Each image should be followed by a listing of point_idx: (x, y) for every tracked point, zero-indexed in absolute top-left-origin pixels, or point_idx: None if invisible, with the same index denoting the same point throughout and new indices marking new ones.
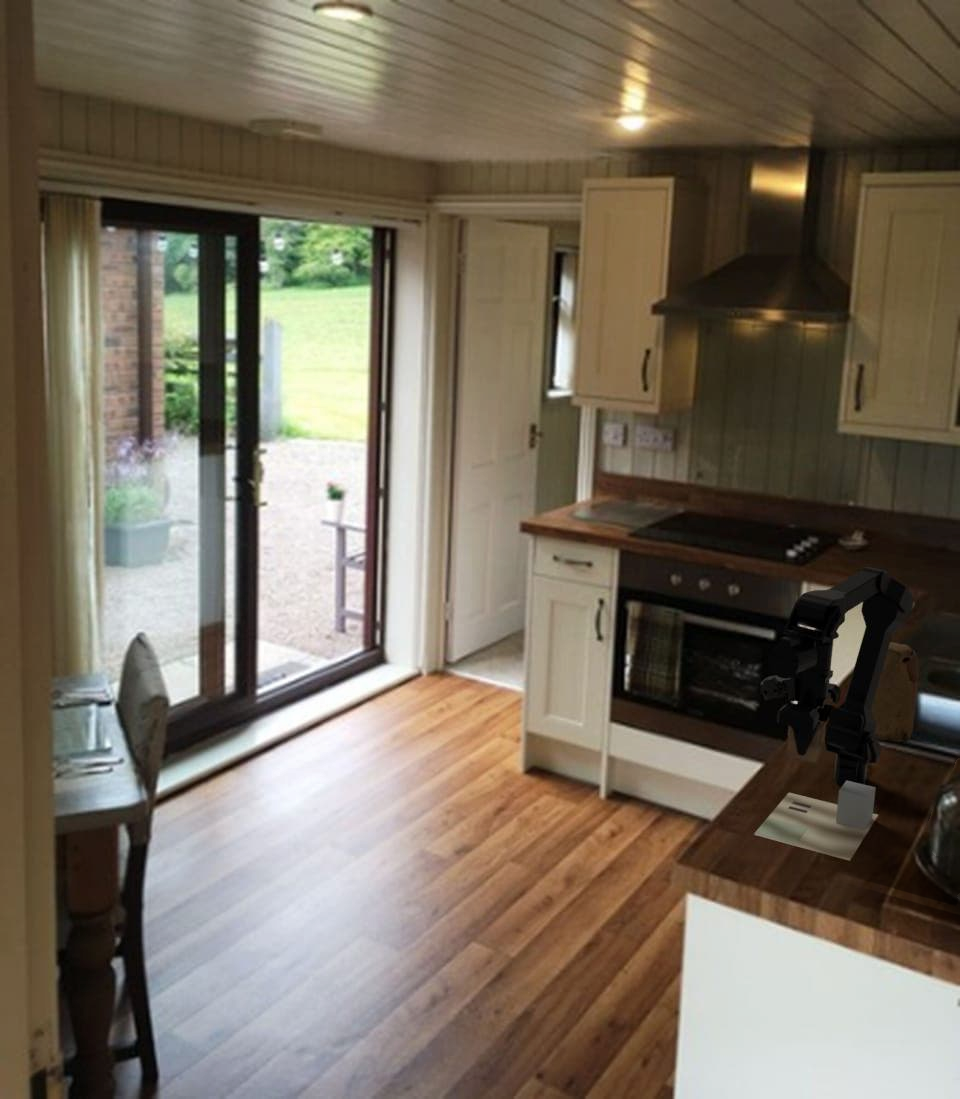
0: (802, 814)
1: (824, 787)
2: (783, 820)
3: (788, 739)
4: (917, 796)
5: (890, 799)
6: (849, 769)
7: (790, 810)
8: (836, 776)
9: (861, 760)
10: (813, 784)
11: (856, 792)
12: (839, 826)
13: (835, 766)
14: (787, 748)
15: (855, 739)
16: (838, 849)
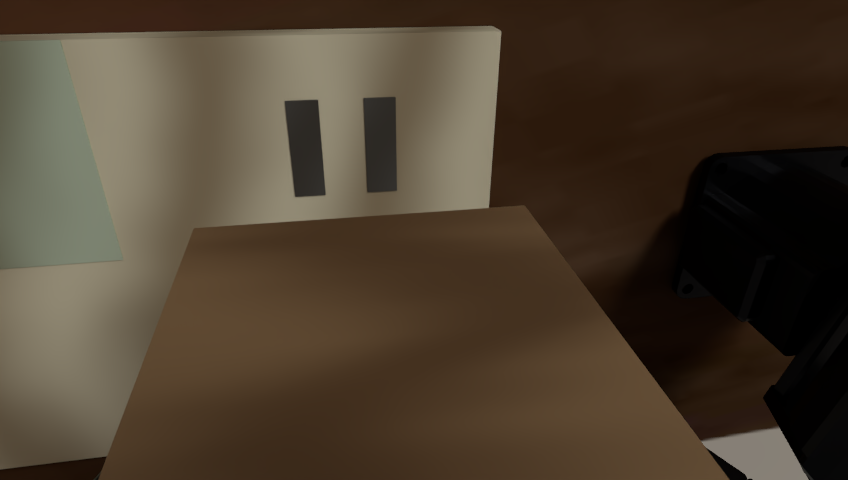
0: (265, 187)
1: (696, 142)
2: (108, 131)
3: (135, 384)
4: (730, 417)
5: (672, 369)
6: (744, 304)
7: (267, 120)
8: (757, 201)
9: (788, 380)
10: (714, 86)
11: None
12: None
13: (814, 204)
14: (172, 285)
15: None
16: (32, 417)
